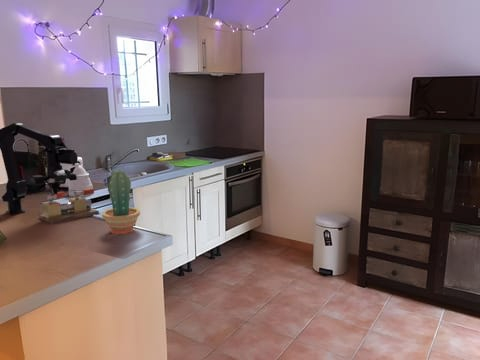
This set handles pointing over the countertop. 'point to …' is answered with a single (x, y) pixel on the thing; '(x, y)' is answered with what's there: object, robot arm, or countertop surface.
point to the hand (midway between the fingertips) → (54, 196)
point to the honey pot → (79, 181)
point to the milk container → (71, 168)
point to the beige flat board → (70, 216)
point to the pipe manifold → (68, 205)
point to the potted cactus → (119, 203)
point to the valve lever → (56, 196)
